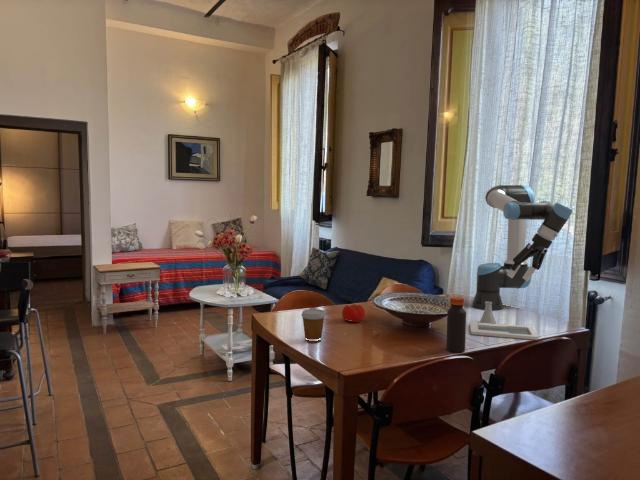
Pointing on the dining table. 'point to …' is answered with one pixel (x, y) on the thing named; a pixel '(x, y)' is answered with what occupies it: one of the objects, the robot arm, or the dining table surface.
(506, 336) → the keyhole plate
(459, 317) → the bottle
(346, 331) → the dining table surface
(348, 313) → the tomato
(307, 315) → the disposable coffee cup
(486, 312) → the flask
